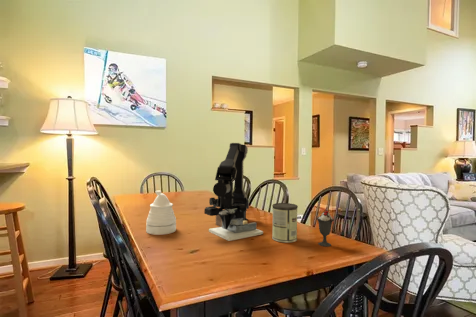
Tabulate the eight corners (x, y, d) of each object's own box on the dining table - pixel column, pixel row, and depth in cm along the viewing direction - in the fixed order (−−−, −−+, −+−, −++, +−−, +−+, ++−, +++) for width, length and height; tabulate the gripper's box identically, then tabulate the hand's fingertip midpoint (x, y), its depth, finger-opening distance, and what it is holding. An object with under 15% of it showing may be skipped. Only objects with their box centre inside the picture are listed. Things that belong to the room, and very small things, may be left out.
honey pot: (160, 236, 116) (160, 193, 115) (139, 231, 122) (140, 190, 122) (181, 229, 127) (182, 190, 126) (162, 225, 133) (162, 188, 133)
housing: (241, 224, 133) (241, 218, 133) (256, 229, 124) (256, 222, 124) (222, 227, 126) (222, 221, 126) (235, 233, 117) (236, 226, 117)
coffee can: (276, 234, 122) (276, 202, 122) (299, 237, 118) (300, 204, 117) (268, 240, 113) (269, 205, 112) (293, 244, 108) (294, 208, 108)
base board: (241, 226, 134) (241, 217, 134) (262, 234, 122) (263, 224, 121) (208, 231, 124) (208, 222, 124) (228, 241, 111) (229, 230, 111)
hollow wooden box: (225, 222, 140) (225, 213, 140) (232, 225, 135) (232, 215, 135) (215, 224, 136) (215, 214, 136) (222, 227, 132) (222, 216, 132)
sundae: (324, 248, 104) (325, 208, 104) (312, 243, 110) (313, 205, 110) (337, 246, 107) (338, 207, 107) (324, 241, 113) (325, 204, 113)
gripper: (233, 189, 133) (232, 222, 133) (198, 192, 122) (198, 227, 122) (247, 192, 124) (247, 227, 124) (211, 195, 113) (210, 234, 113)
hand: (225, 228), depth 121 cm, fingers closed
